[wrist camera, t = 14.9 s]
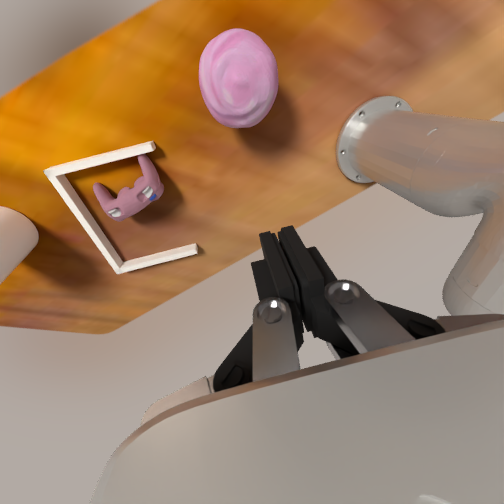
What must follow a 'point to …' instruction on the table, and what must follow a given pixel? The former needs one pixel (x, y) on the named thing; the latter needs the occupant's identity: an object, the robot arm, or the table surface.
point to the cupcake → (238, 78)
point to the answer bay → (87, 220)
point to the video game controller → (132, 193)
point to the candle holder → (15, 240)
